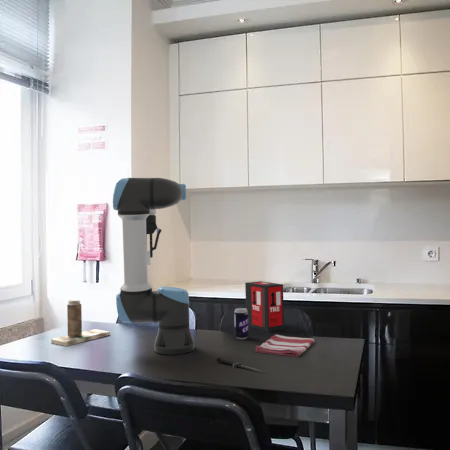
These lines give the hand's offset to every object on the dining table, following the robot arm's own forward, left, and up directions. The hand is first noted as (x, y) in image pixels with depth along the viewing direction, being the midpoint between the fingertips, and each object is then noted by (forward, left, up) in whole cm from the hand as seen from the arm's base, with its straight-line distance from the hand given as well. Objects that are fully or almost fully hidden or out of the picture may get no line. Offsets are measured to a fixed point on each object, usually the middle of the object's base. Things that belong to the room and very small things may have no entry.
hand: (148, 264), depth 217 cm
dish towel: (-50, -52, -30) cm, 78 cm away
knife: (-74, -32, -30) cm, 86 cm away
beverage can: (-33, -38, -29) cm, 58 cm away
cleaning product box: (-15, -52, -29) cm, 61 cm away
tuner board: (-19, +28, -29) cm, 45 cm away
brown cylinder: (-22, +29, -27) cm, 46 cm away
